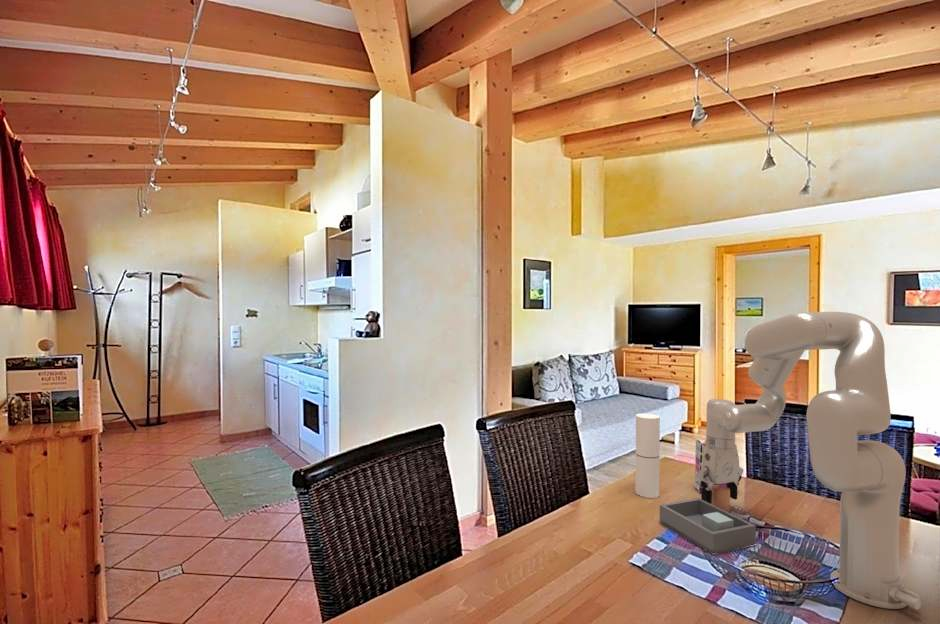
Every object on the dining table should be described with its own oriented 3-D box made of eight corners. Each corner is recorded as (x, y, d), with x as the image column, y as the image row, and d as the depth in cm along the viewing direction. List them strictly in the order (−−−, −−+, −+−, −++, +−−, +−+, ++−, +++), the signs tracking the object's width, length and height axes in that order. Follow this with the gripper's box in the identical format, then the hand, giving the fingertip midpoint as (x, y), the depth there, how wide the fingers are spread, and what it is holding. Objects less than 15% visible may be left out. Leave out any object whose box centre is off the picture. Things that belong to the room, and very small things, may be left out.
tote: (755, 545, 118) (755, 525, 118) (712, 554, 114) (713, 534, 114) (698, 515, 135) (699, 498, 135) (659, 522, 131) (659, 504, 131)
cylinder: (733, 514, 137) (734, 490, 136) (720, 516, 135) (720, 492, 135) (719, 507, 141) (719, 483, 141) (706, 509, 140) (706, 486, 140)
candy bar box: (700, 494, 151) (700, 443, 151) (694, 488, 156) (694, 438, 156) (736, 495, 150) (737, 444, 150) (729, 489, 155) (730, 439, 155)
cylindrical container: (635, 496, 149) (636, 417, 149) (634, 488, 156) (635, 412, 156) (660, 499, 147) (660, 419, 147) (658, 490, 154) (658, 414, 153)
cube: (733, 539, 119) (733, 520, 119) (718, 542, 118) (718, 522, 118) (717, 530, 124) (717, 511, 124) (702, 533, 122) (702, 514, 122)
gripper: (708, 448, 132) (706, 509, 132) (753, 443, 137) (752, 501, 138) (687, 441, 139) (686, 498, 139) (731, 436, 144) (730, 491, 145)
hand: (719, 499), depth 138 cm, fingers open, 9 cm apart
